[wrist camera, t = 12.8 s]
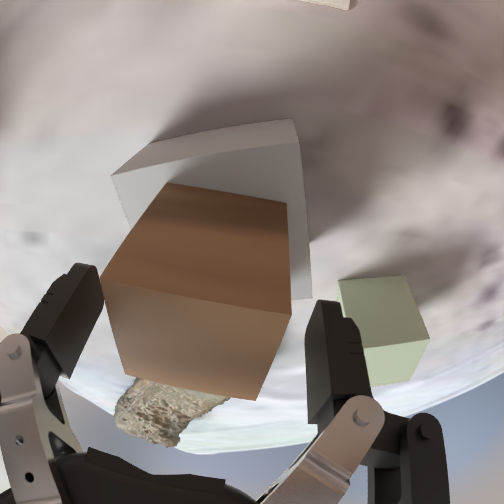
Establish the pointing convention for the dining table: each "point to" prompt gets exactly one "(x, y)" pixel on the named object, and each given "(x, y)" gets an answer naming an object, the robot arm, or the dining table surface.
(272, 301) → the walnut block
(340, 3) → the swatch
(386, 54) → the dining table surface
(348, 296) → the sage block
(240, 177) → the base block
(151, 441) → the long grey stone
